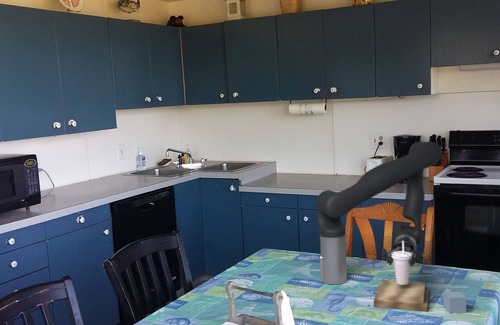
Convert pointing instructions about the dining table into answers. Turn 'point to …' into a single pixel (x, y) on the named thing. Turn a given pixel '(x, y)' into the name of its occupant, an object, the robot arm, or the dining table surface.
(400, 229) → the robot arm
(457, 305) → the slate cube
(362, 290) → the dining table surface
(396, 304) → the plinth
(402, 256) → the smoothie
